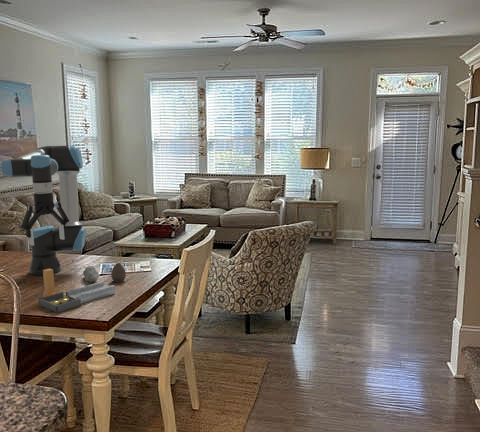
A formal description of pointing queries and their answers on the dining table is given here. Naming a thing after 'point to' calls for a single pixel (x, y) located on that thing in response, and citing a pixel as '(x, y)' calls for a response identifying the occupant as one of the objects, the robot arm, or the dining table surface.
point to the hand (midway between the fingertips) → (47, 242)
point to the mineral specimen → (90, 274)
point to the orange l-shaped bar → (48, 282)
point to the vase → (118, 273)
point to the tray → (62, 307)
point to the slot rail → (90, 292)
